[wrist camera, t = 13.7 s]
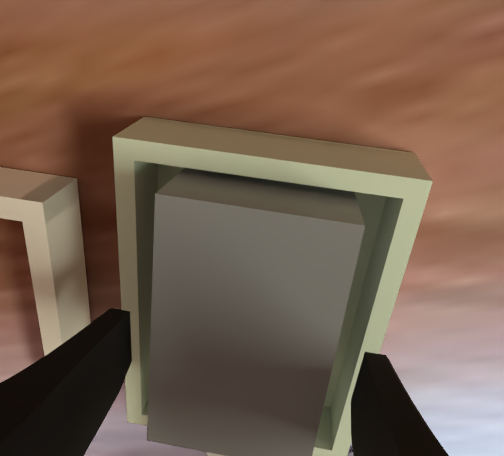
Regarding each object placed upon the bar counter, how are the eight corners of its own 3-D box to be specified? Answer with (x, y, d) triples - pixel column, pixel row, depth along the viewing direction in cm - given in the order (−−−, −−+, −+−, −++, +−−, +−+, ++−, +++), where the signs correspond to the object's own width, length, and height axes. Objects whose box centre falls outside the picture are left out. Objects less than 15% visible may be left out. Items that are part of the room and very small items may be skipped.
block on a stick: (293, 455, 18) (288, 556, 15) (177, 433, 19) (144, 526, 15) (350, 180, 14) (365, 225, 10) (195, 157, 14) (155, 193, 10)
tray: (341, 410, 19) (344, 463, 17) (148, 375, 20) (127, 421, 17) (414, 152, 14) (432, 181, 11) (144, 116, 14) (112, 136, 12)
